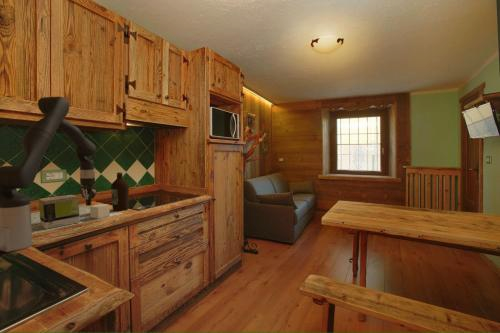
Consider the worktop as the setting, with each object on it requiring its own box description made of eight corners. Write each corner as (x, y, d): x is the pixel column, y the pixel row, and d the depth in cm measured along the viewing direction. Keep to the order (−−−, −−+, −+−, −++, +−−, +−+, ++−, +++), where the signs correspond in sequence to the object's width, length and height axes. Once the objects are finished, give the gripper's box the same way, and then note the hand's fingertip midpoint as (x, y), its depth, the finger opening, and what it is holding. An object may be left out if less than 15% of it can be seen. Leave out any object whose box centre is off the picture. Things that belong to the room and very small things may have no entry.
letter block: (98, 219, 139) (98, 207, 139) (90, 217, 142) (89, 206, 141) (109, 216, 145) (109, 204, 145) (101, 215, 148) (101, 203, 148)
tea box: (74, 219, 138) (73, 194, 137) (80, 223, 132) (78, 196, 131) (40, 226, 127) (38, 198, 126) (44, 229, 120) (42, 200, 119)
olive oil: (123, 207, 169) (122, 171, 168) (132, 209, 164) (131, 172, 162) (108, 210, 160) (107, 172, 159) (117, 212, 155) (116, 173, 153)
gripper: (73, 177, 145) (75, 205, 146) (88, 178, 140) (89, 207, 141) (86, 176, 152) (87, 203, 153) (100, 177, 147) (101, 205, 148)
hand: (88, 205), depth 147 cm, fingers closed
